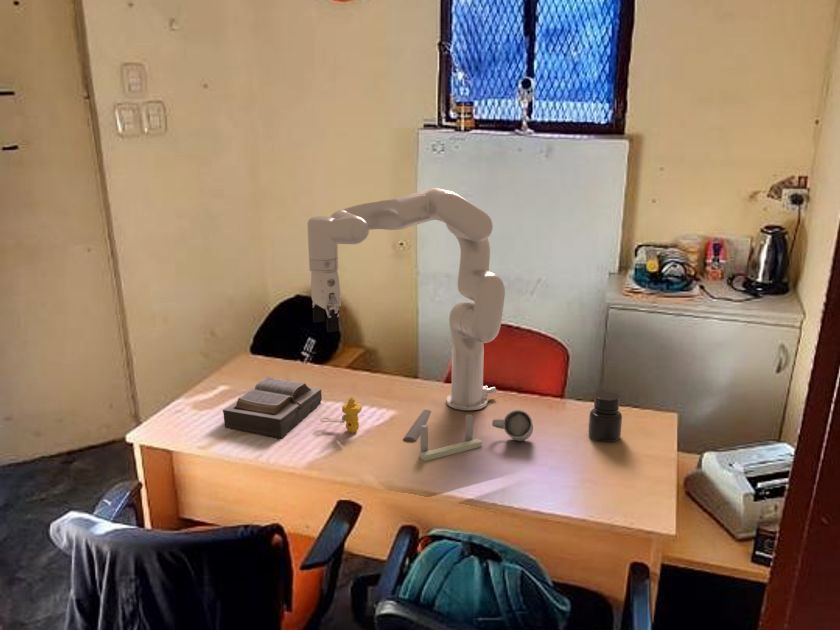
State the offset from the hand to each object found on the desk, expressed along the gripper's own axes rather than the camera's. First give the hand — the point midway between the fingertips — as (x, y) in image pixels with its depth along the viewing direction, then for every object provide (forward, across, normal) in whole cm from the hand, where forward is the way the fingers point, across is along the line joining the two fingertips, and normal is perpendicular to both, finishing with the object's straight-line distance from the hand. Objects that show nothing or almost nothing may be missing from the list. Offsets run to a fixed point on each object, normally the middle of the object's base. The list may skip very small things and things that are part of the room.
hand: (325, 326), depth 210 cm
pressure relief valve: (+32, +2, -4) cm, 33 cm away
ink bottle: (+32, -36, -68) cm, 84 cm away
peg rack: (+32, -22, -25) cm, 46 cm away
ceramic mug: (+32, -27, -43) cm, 60 cm away
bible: (+33, +20, +9) cm, 39 cm away
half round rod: (+33, -6, -25) cm, 42 cm away
